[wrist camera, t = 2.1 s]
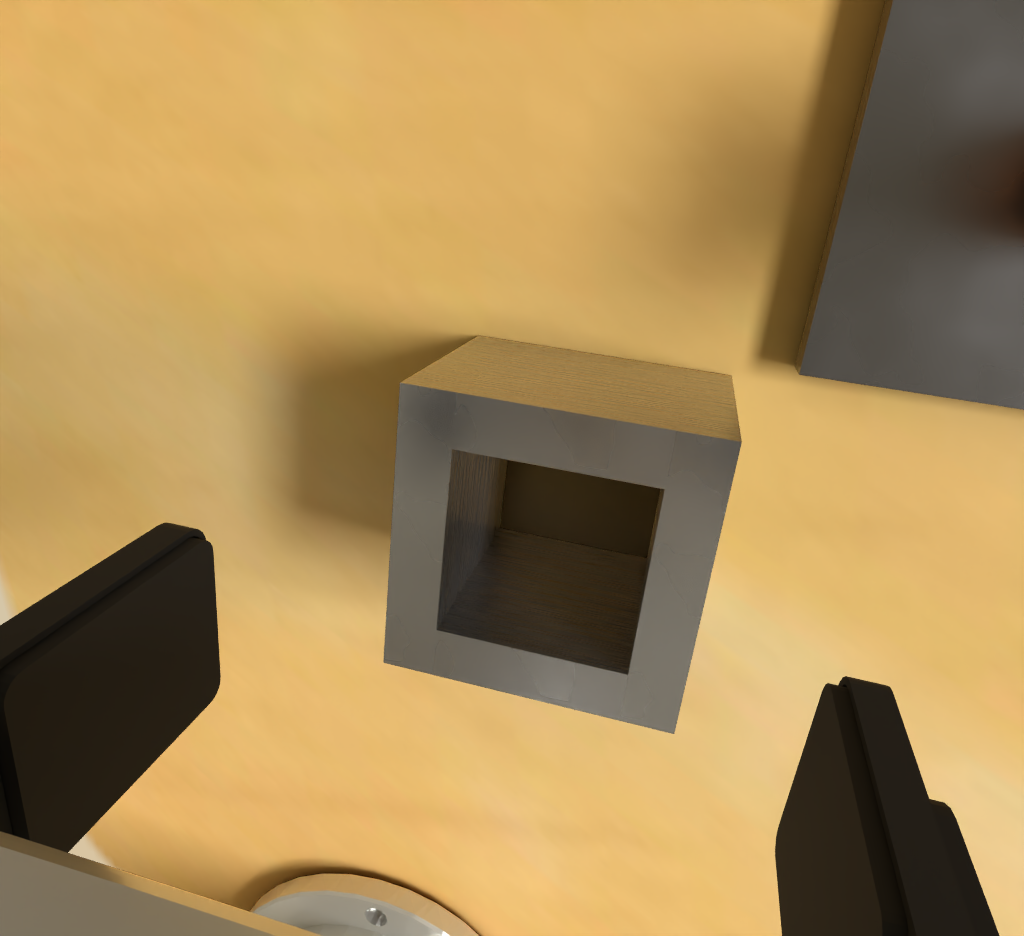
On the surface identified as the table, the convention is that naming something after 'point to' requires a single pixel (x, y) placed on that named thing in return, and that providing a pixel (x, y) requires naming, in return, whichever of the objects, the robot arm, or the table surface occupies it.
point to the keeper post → (930, 212)
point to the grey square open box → (549, 562)
